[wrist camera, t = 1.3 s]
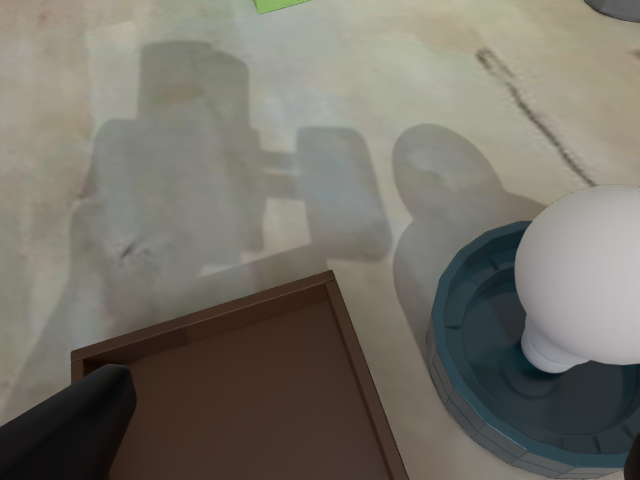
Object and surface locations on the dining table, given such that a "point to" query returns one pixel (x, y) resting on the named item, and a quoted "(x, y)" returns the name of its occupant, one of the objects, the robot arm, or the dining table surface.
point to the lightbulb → (582, 280)
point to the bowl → (522, 374)
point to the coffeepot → (618, 8)
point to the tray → (252, 393)
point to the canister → (274, 4)
